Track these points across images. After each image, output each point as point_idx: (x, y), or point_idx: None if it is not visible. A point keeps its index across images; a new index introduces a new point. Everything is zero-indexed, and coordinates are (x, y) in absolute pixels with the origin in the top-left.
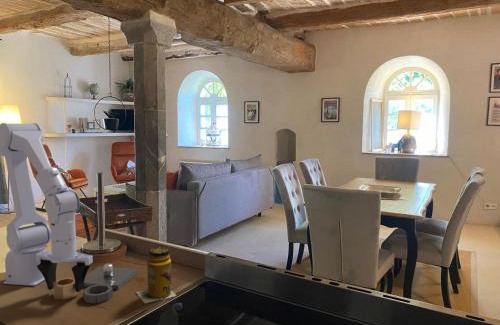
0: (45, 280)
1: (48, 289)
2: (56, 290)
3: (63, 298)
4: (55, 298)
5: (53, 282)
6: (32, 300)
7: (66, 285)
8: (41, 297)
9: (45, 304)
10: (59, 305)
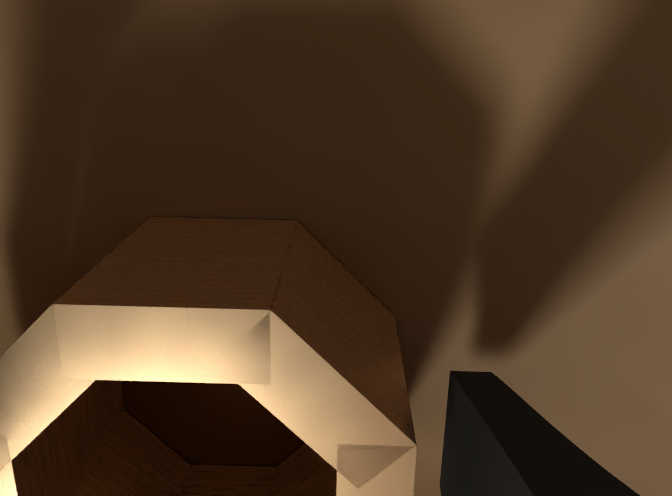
0: (590, 461)
1: (493, 375)
2: (239, 273)
3: (144, 225)
4: (282, 220)
5: (411, 470)
6: (631, 125)
7: (24, 374)
8: (541, 243)
9: (328, 17)
10: (73, 18)
